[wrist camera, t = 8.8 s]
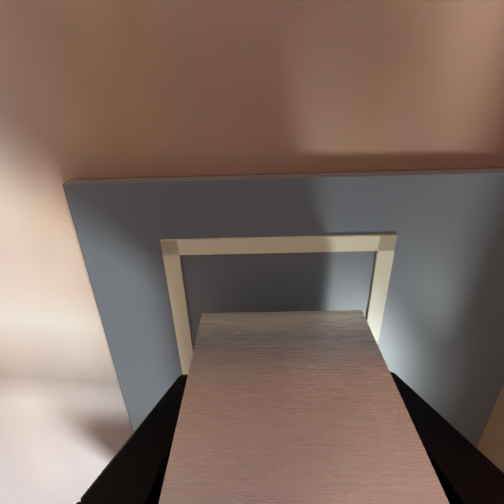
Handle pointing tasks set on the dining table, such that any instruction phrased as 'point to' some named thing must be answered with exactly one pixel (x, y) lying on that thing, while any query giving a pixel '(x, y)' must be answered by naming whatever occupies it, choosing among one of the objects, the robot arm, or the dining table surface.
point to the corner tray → (307, 273)
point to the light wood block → (294, 417)
